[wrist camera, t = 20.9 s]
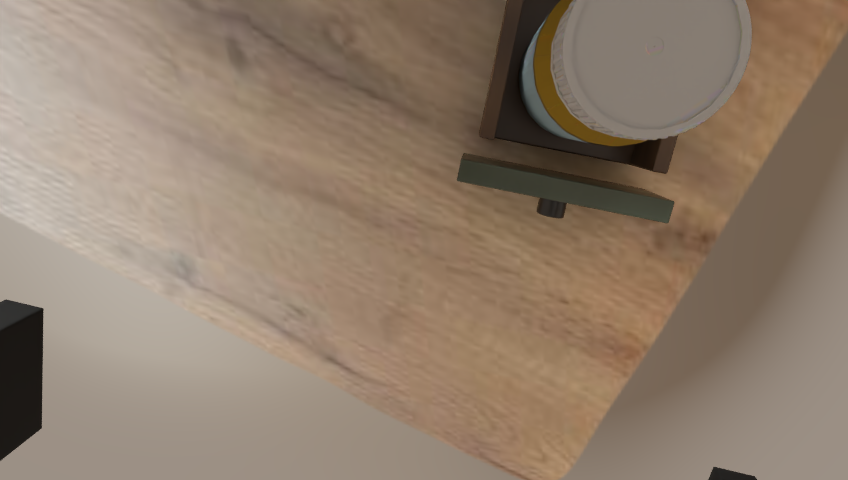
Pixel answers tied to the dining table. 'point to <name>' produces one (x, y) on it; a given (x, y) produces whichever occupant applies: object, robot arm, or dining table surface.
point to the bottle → (633, 67)
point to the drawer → (554, 139)
